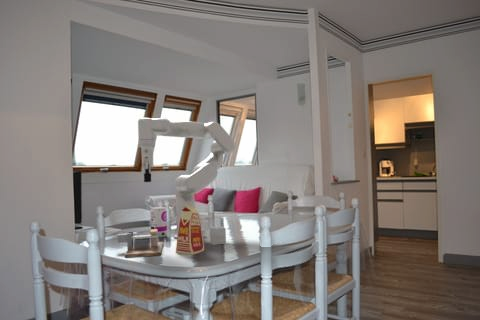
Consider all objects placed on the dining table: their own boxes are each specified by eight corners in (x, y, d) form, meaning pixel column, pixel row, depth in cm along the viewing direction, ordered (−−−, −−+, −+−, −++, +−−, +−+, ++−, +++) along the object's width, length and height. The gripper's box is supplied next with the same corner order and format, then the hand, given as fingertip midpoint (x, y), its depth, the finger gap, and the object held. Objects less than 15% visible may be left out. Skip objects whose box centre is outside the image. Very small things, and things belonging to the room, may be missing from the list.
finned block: (150, 245, 166) (149, 237, 166) (148, 249, 159) (148, 240, 159) (136, 246, 165) (135, 238, 165) (134, 250, 158) (133, 240, 158)
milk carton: (192, 254, 151) (190, 204, 151) (174, 252, 156) (173, 204, 156) (206, 250, 158) (204, 202, 159) (189, 248, 163) (187, 202, 164)
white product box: (170, 235, 200) (169, 206, 200) (161, 238, 192) (161, 208, 192) (156, 234, 202) (155, 206, 203) (148, 237, 194) (147, 208, 195)
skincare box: (222, 241, 177) (222, 226, 177) (226, 244, 171) (225, 227, 171) (210, 242, 175) (209, 226, 175) (213, 245, 169) (212, 228, 169)
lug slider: (157, 244, 167) (157, 229, 167) (157, 247, 160) (156, 231, 161) (151, 245, 166) (150, 229, 167) (150, 248, 160) (149, 231, 160)
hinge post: (133, 247, 164) (133, 231, 164) (131, 249, 158) (131, 233, 159) (129, 247, 163) (128, 231, 164) (127, 250, 158) (127, 233, 158)
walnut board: (163, 244, 174) (163, 241, 174) (160, 255, 152) (160, 252, 152) (131, 246, 172) (131, 243, 172) (124, 257, 149) (124, 254, 149)
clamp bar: (156, 239, 164) (156, 231, 164) (156, 240, 161) (156, 232, 161) (118, 241, 162) (118, 234, 162) (117, 242, 159) (117, 235, 159)
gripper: (153, 142, 175) (155, 182, 174) (155, 144, 190) (156, 181, 189) (137, 142, 174) (138, 182, 173) (139, 145, 188) (140, 181, 188)
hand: (147, 181), depth 181 cm, fingers closed
